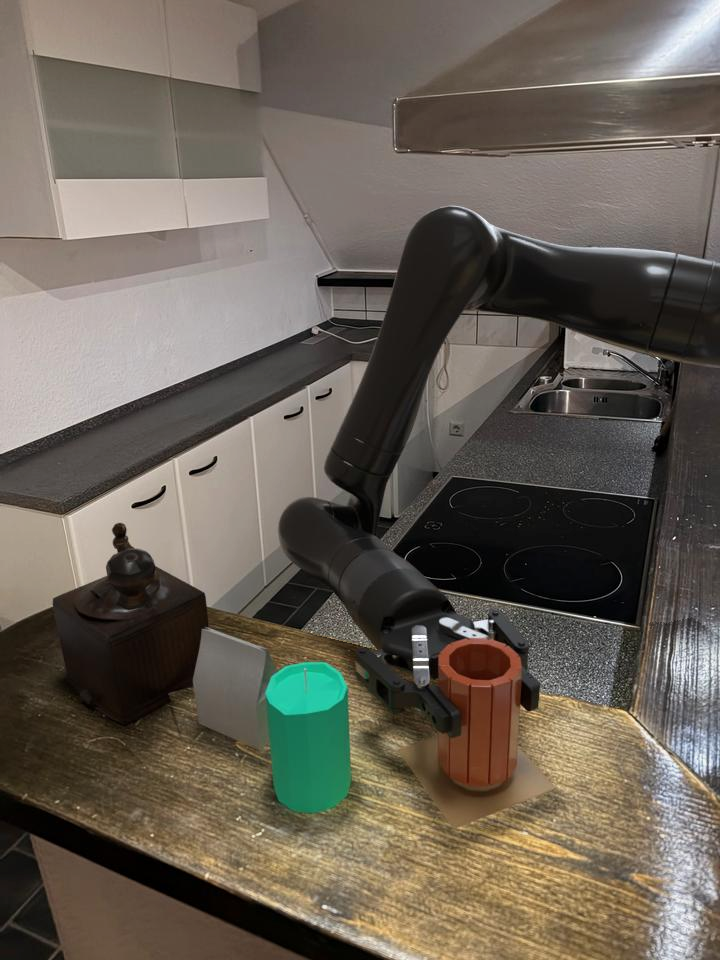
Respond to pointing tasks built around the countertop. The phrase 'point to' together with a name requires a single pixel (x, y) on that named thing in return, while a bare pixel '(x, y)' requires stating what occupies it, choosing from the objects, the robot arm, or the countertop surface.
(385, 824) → the countertop surface
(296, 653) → the countertop surface
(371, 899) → the countertop surface
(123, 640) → the brown coffee grinder
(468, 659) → the hollow cylinder
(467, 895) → the countertop surface
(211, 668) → the tea bag
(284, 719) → the candle
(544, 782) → the ring holder
